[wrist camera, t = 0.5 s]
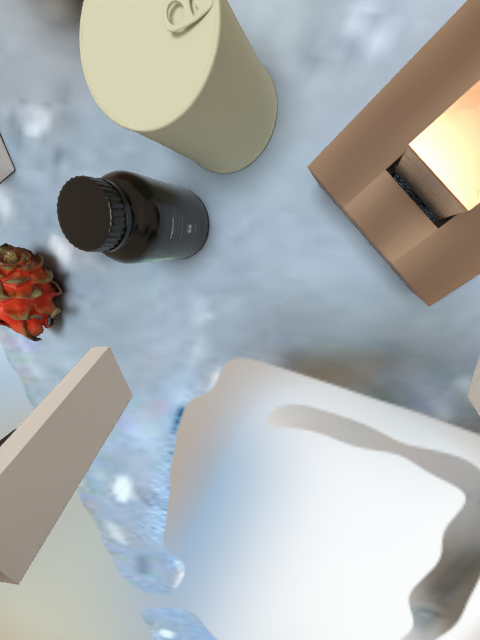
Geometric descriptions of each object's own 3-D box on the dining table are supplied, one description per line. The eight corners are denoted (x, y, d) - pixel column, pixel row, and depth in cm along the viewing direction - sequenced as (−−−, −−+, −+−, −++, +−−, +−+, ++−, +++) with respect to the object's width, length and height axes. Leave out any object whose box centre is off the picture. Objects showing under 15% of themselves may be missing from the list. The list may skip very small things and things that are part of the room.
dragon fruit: (54, 235, 39) (82, 320, 43) (-21, 245, 37) (16, 333, 41) (30, 239, 31) (68, 343, 36) (-65, 252, 29) (-14, 360, 34)
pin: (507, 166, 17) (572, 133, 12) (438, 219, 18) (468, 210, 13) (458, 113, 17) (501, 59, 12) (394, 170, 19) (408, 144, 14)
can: (285, 156, 26) (232, 93, 15) (192, 185, 29) (95, 150, 18) (268, 33, 24) (195, -140, 13) (172, 79, 27) (51, -28, 17)
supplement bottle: (197, 269, 31) (111, 284, 20) (145, 242, 33) (39, 242, 22) (220, 204, 29) (136, 180, 18) (162, 178, 30) (52, 141, 19)
